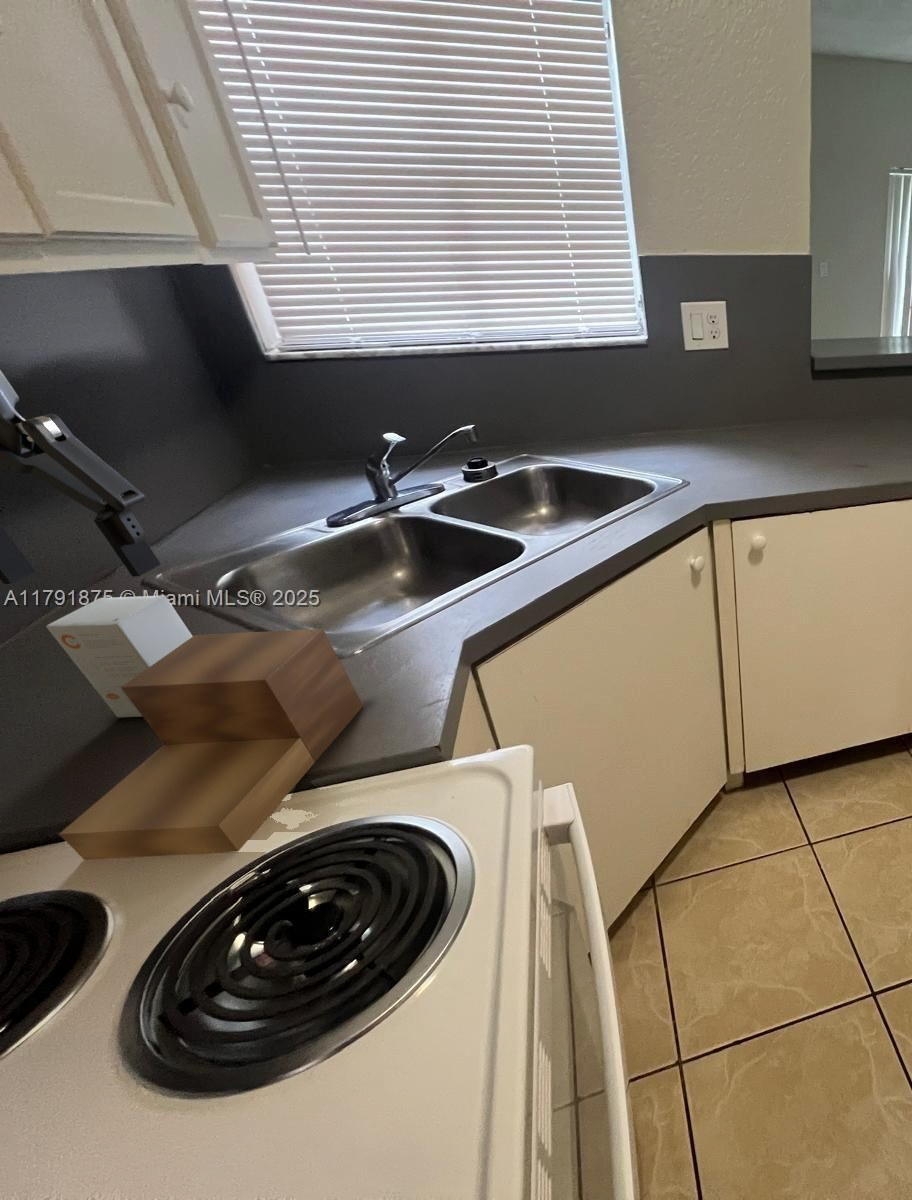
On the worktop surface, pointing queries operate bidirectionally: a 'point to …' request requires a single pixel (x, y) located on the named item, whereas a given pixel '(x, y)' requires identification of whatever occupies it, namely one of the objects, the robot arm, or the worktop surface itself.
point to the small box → (119, 642)
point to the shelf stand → (220, 743)
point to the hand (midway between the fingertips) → (84, 574)
